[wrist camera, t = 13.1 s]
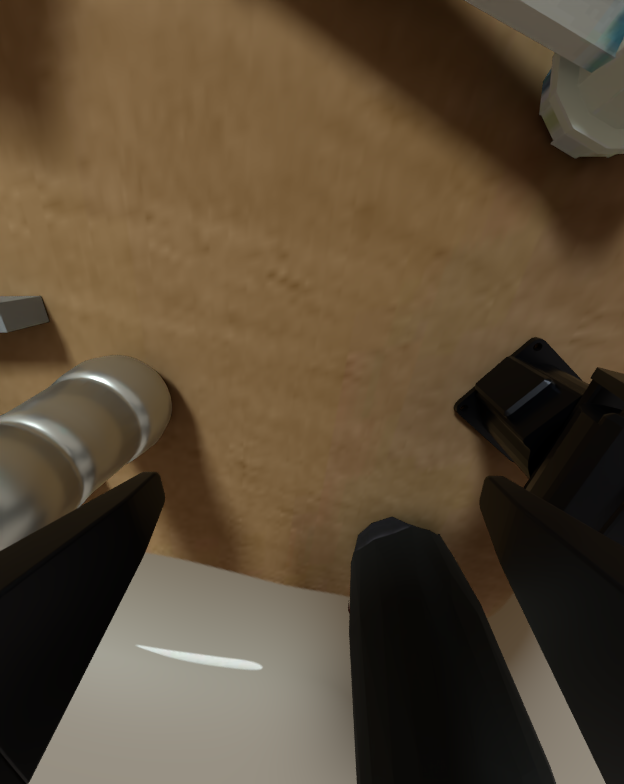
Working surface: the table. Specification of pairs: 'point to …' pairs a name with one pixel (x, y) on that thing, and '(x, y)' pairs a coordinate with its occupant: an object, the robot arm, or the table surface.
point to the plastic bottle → (76, 439)
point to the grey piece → (576, 68)
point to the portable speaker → (430, 671)
